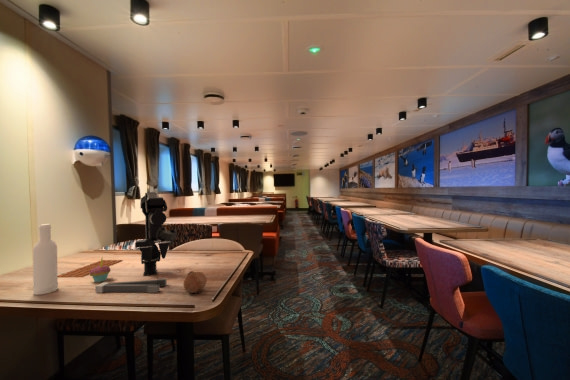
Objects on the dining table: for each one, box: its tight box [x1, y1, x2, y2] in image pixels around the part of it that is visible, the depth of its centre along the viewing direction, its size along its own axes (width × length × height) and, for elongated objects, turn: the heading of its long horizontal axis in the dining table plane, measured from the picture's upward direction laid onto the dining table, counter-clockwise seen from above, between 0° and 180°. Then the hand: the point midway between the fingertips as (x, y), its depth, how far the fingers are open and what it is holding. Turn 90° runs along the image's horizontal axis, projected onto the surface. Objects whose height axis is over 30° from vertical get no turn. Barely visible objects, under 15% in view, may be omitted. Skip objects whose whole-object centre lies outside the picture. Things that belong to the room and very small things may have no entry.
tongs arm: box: [109, 278, 168, 287], centre depth 111 cm, size 24×2×3 cm, turn 98°
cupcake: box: [89, 257, 112, 283], centre depth 121 cm, size 9×8×12 cm
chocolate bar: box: [57, 259, 124, 279], centre depth 141 cm, size 14×30×1 cm, turn 177°
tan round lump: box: [182, 270, 208, 294], centre depth 105 cm, size 10×9×10 cm
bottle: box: [32, 223, 59, 296], centre depth 108 cm, size 8×8×30 cm
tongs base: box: [94, 281, 161, 294], centre depth 107 cm, size 28×5×3 cm, turn 88°
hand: (156, 260), depth 107 cm, fingers open, 9 cm apart
